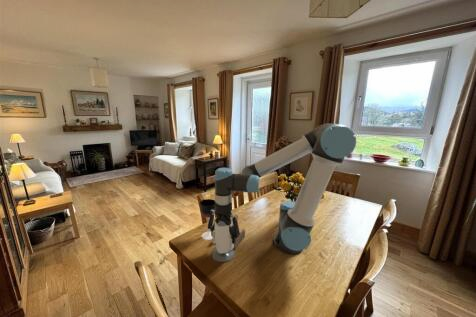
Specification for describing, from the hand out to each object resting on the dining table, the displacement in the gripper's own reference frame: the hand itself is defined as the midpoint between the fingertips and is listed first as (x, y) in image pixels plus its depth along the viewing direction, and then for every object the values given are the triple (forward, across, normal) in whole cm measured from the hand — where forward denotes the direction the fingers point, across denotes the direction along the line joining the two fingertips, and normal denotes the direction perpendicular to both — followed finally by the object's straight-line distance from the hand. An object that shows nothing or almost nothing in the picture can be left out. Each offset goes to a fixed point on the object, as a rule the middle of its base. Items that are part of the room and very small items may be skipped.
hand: (223, 245), depth 91 cm
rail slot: (+5, +2, -11) cm, 12 cm away
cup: (+3, 0, 0) cm, 3 cm away
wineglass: (+5, +14, -9) cm, 18 cm away
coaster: (+5, 0, 0) cm, 5 cm away
